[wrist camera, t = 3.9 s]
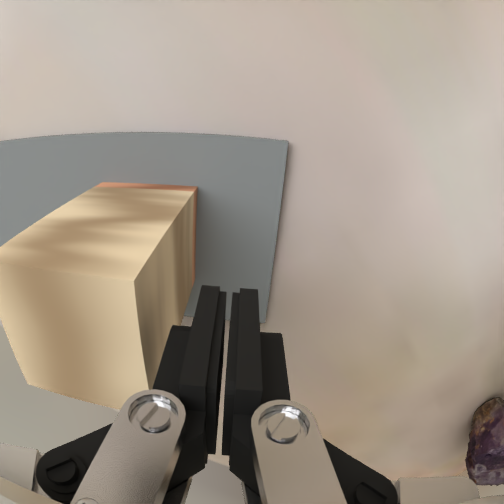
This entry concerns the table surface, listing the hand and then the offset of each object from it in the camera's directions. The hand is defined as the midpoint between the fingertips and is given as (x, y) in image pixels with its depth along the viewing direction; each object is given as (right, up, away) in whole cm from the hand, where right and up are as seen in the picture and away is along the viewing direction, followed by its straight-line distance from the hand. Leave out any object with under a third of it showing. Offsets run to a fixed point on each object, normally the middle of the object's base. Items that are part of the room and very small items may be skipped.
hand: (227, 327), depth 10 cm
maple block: (-4, +3, +6) cm, 8 cm away
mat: (-7, +4, +6) cm, 11 cm away
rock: (+28, -16, +16) cm, 36 cm away
